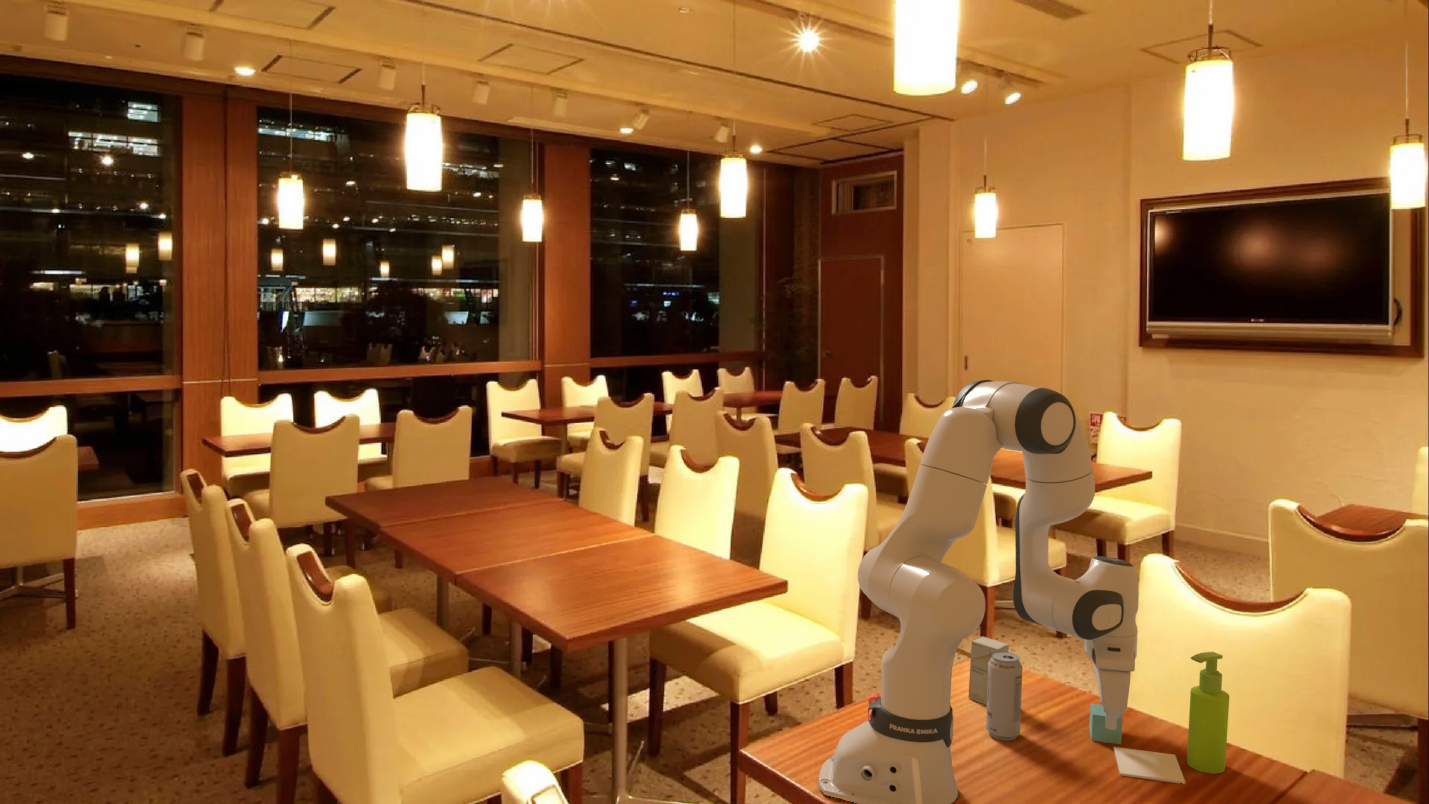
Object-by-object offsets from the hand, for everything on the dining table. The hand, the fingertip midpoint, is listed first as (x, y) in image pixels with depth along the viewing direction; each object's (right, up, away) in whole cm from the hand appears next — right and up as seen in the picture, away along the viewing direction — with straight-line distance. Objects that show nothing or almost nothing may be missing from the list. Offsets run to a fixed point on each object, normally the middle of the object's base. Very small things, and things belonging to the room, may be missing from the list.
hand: (1108, 716), depth 174 cm
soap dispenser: (+12, -5, -11) cm, 17 cm away
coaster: (+2, -5, -11) cm, 12 cm away
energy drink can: (-19, -4, +1) cm, 19 cm away
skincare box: (-18, -2, +16) cm, 24 cm away
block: (-1, -4, 0) cm, 4 cm away
